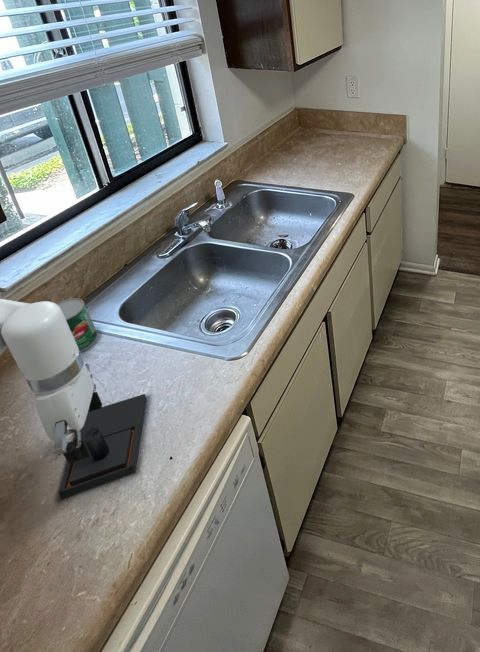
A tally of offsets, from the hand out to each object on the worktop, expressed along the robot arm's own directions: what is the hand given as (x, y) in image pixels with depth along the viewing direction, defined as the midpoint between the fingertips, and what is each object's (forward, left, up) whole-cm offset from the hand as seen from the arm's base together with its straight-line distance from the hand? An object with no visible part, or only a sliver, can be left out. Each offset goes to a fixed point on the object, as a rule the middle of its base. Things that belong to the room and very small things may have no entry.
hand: (86, 432), depth 81 cm
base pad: (0, +3, -9) cm, 10 cm away
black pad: (+1, 0, -8) cm, 8 cm away
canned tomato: (-12, +35, -9) cm, 38 cm away
